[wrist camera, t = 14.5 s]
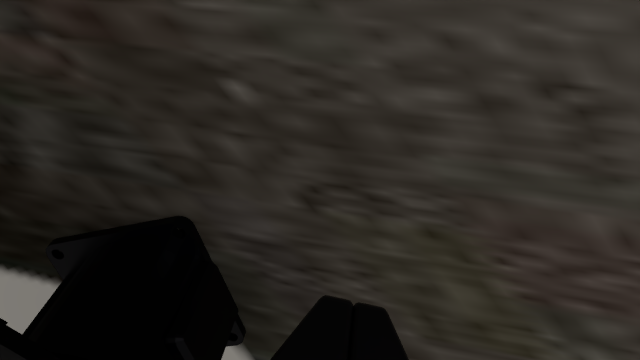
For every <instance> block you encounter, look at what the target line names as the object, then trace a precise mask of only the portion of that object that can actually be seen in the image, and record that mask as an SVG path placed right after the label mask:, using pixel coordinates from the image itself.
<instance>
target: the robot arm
mask: <svg viewBox="0 0 640 360" xmlns="http://www.w3.org/2000/svg"><path fill="white" fill-rule="evenodd" d="M177 228H181V229H183V230H184V231H185V232H181V231H179V230H178V229H177ZM60 251H61V252H60ZM46 254H47V256H48V258H49V259H50V261H51V262H52V264H53V265H54V267H55V269H56V270H57V272H58V273H59V275H60V276H61V278H62V279H63V281H62V283H61V284H60V285H59V287H58V288H57V289H56V291H55V292H54V293H53V295H52V296H51V297H50V299H49V300H48V301H47V303H46V304H45V305H44V307H43V308H42V309H41V311H40V312H39V313H38V314H37V316H36V317H35V318H34V320H33V321H32V322H31V324H30V325H29V327H28V328H27V329H26V330H25V332H24V333H23V334H20V333H18V332H17V331H15V330H13V329H12V328H10V327H8V326H6V324H7V322H6V321H4V320H3V319H1V318H0V360H221V358H222V356H223V353H224V350H225V347H226V346H235V345H239V344H241V343H242V342H243V339H244V336H245V333H246V330H245V327H244V325H243V323H242V321H241V319H240V317H239V315H238V308H237V306H236V304H235V302H234V300H233V298H232V296H231V294H230V292H229V290H228V288H227V286H226V283H225V281H224V279H223V277H222V275H221V273H220V271H219V269H218V267H217V266H216V265H215V264H214V263H213V262H212V260H211V258H210V256H209V254H208V252H207V250H206V248H205V246H204V244H203V241H202V239H201V237H200V235H199V233H198V231H197V229H196V227H195V225H194V224H193V222H192V221H191V220H190V219H188V218H186V217H183V216H176V217H171V218H166V219H160V220H155V221H149V222H144V223H139V224H133V225H128V226H122V227H117V228H112V229H106V230H101V231H95V232H90V233H85V234H79V235H74V236H68V237H63V238H58V239H55V240H53V241H52V242H51V243H50V245H49V246H48V247H47V248H46ZM232 333H234V334H232ZM270 360H409V359H408V357H407V355H406V353H405V350H404V348H403V346H402V344H401V341H400V339H399V337H398V335H397V333H396V330H395V328H394V326H393V324H392V321H391V319H390V317H389V315H388V313H387V311H386V310H385V309H384V308H382V307H378V306H374V305H369V304H364V303H356V304H355V305H354V306H353V304H352V302H351V301H349V300H346V299H341V298H337V297H332V296H327V295H325V296H322V297H321V298H320V299H319V300H318V301H317V303H316V304H315V305H314V306H313V308H312V309H311V310H310V311H309V312H308V314H307V315H306V316H305V317H304V319H303V320H302V321H301V322H300V324H299V325H298V326H297V327H296V329H295V330H294V331H293V332H292V334H291V335H290V336H289V337H288V338H287V340H286V341H285V342H284V343H283V345H282V346H281V347H280V348H279V350H278V351H277V352H276V353H275V355H274V356H273V357H272V358H271V359H270Z"/></svg>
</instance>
